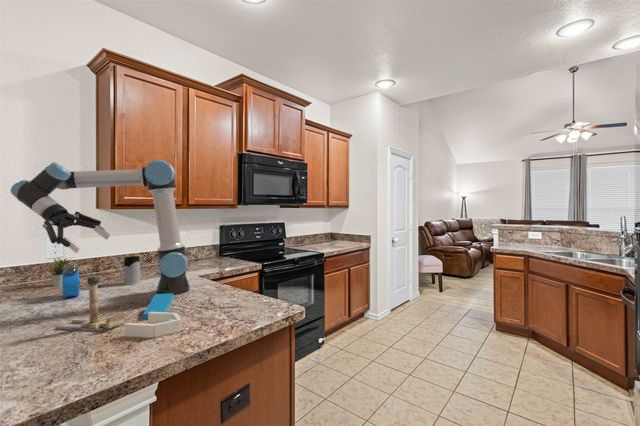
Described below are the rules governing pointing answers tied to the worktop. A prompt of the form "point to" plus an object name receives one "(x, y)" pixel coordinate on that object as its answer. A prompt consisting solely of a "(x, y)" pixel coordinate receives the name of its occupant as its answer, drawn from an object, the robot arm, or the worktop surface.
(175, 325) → the pocket
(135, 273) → the glass holder
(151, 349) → the worktop surface
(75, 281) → the alarm clock
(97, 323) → the plunger
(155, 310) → the blue long block
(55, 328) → the track
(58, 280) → the house plant
